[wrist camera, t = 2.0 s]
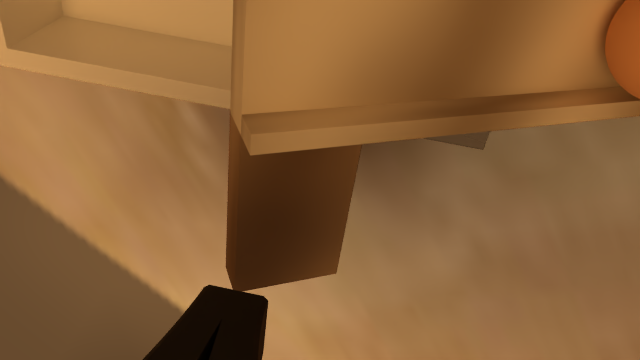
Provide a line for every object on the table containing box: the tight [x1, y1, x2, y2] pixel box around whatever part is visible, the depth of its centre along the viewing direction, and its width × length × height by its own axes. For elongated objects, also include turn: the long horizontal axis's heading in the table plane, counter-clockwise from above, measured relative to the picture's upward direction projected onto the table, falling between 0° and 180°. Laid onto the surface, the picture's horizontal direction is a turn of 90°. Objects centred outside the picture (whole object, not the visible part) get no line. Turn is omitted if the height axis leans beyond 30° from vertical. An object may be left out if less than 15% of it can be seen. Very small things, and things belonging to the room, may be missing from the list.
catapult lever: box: [226, 0, 640, 292], centre depth 13 cm, size 12×10×3 cm
